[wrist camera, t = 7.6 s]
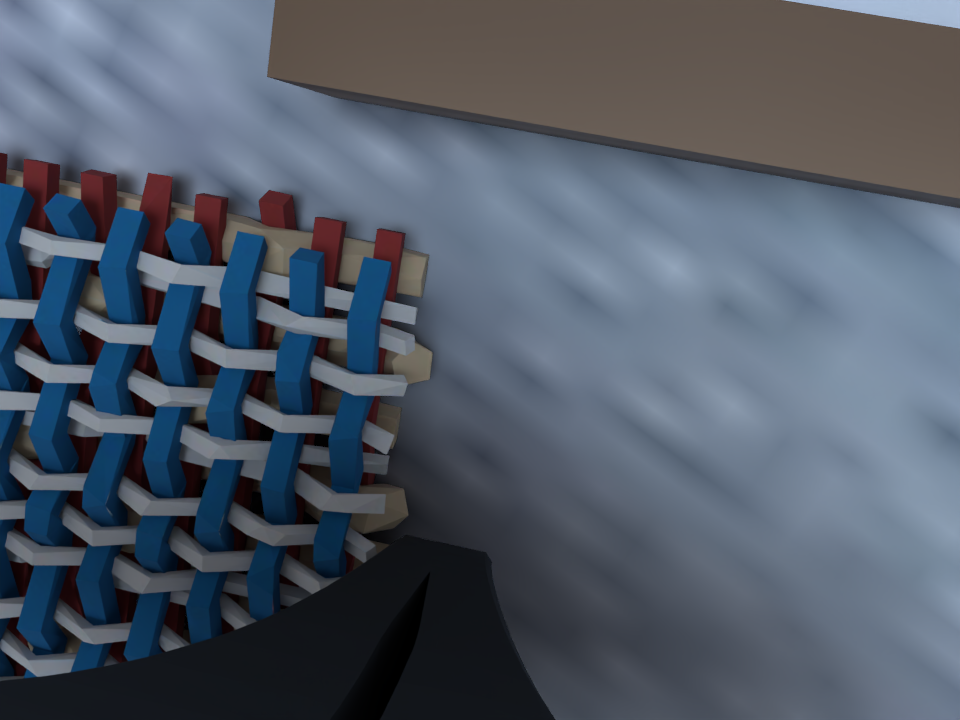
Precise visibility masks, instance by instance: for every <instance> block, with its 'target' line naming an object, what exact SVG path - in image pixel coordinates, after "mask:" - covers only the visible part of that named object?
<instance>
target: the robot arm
mask: <svg viewBox="0 0 960 720" xmlns="http://www.w3.org/2000/svg"><path fill="white" fill-rule="evenodd" d="M491 563H492V562H491V560H490V559H489V557H488V555H487V554H486V552H481V551H477V550H472V549H467V548H463V547H458V546H454V545H449V544H445V543H440V542H435V541H431V540H426V539H422V538H417V537H413V536H408V535H405V536H403V537H402V538H400V539H399V540H397V541H395V542H394V543H392V544H391V545H389V546H388V547H386V548H385V549H383V550H382V551H381V552H379V553H378V554H376V555H375V556H373V557H372V558H370V559H369V560H367V561H366V562H364V563H363V564H361V565H360V566H358V567H357V568H355V569H354V570H352V571H351V572H349V573H347V574H346V575H344V576H343V577H341V578H339V579H338V580H336V581H335V582H333V583H331V584H330V585H328V586H327V587H325V588H323V589H321V590H319V591H317V592H315V593H314V594H312V595H310V596H308V597H306V598H304V599H303V600H301V601H299V602H297V603H295V604H293V605H291V606H290V607H288V608H285V609H283V610H281V611H279V612H277V613H275V614H273V615H270V616H268V617H266V618H264V619H261V620H259V621H256V622H254V623H251V624H249V625H246V626H244V627H241V628H239V629H236V630H234V631H231V632H228V633H226V634H223V635H220V636H217V637H214V638H211V639H207V640H204V641H200V642H197V643H194V644H190V645H187V646H184V647H180V648H177V649H173V650H170V651H167V652H163V653H160V654H156V655H153V656H149V657H145V658H140V659H136V660H131V661H127V662H122V663H118V664H113V665H108V666H102V667H97V668H91V669H86V670H80V671H75V672H69V673H62V674H55V675H49V676H41V677H31V678H22V679H12V680H3V681H0V720H555V718H554V717H553V715H552V714H551V712H550V711H549V709H548V707H547V706H546V704H545V703H544V701H543V700H542V698H541V696H540V695H539V693H538V691H537V689H536V688H535V686H534V684H533V682H532V680H531V678H530V676H529V675H528V673H527V671H526V669H525V667H524V664H523V662H522V660H521V658H520V656H519V654H518V652H517V650H516V648H515V645H514V643H513V641H512V638H511V636H510V633H509V630H508V628H507V625H506V622H505V620H504V617H503V614H502V611H501V608H500V605H499V602H498V599H497V595H496V591H495V587H494V583H493V578H492V570H491Z"/></svg>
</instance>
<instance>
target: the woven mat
mask: <svg viewBox="0 0 960 720" xmlns="http://www.w3.org/2000/svg"><path fill="white" fill-rule="evenodd" d="M172 179H173V177H170V176H164V175H158V174H152V173H148V176H147V180H146V184H145V188H144V192H143V196H141V195H136V194H131V193H126V192H121V191H117V176H116V174H111V173H106V172H101V171H96V170H92V169H91V170H88V171H85V172H81V183H76V182H71V181H66V180H61V179H60V165H58V164H53V163H48V162H43V161H38V160H29V159H24V170H23V172H22V171H17V170H12V169H7V154H4V153H0V681H3V680H12V679H22V678H31V677H41V676H49V675H55V674H62V673H69V672H75V671H80V670H86V669H91V668H97V667H102V666H108V665H113V664H118V663H122V662H127V661H131V660H136V659H140V658H145V657H149V656H153V655H156V654H160V653H163V652H167V651H170V650H173V649H177V648H180V647H184V646H187V645H190V644H194V643H197V642H200V641H204V640H207V639H211V638H214V637H217V636H220V635H223V634H226V633H228V632H231V631H234V630H236V629H239V628H241V627H244V626H246V625H249V624H251V623H254V622H256V621H259V620H261V619H264V618H266V617H268V616H270V615H273V614H275V613H277V612H279V611H281V610H283V609H285V608H288V607H290V606H291V605H293V604H295V603H297V602H299V601H301V600H303V599H304V598H306V597H308V596H310V595H312V594H314V593H315V592H317V591H319V590H321V589H323V588H325V587H327V586H328V585H330V584H331V583H333V582H335V581H336V580H338V579H339V578H341V577H343V576H344V575H346V574H347V573H349V572H351V571H352V570H354V569H355V568H357V567H358V566H360V565H361V564H363V563H364V562H366V561H367V560H369V559H370V558H372V557H373V556H375V555H376V554H378V553H379V552H381V551H382V550H383V549H385V548H386V547H388V546H389V545H388V544H384V543H380V542H375V541H371V540H367V539H366V538H365V537H363V536H362V535H361V533H362V534H364V533H370V532H376V531H382V530H388V529H393V528H395V527H396V526H397V525H398V524H399V523H400V522H402V521H403V520H404V519H405V518H406V517H407V516H408V509H407V504H406V498H405V492H404V489H403V488H400V487H396V486H393V485H389V484H374V479H375V475H376V474H382V475H387V469H388V462H389V456H387V453H388V451H389V448H391V449H393V447H394V445H395V442H396V440H397V434H398V429H399V423H400V416H401V409H402V408H400V407H396V406H392V405H388V404H384V403H380V396H404V394H405V391H406V388H407V385H408V384H412V383H416V382H421V381H425V380H430V372H431V363H432V354H433V353H432V352H431V351H430V350H428V349H427V348H425V347H424V346H422V345H421V344H420V343H418V342H417V341H415V337H414V335H412V334H409V333H406V332H404V331H401V330H400V329H398V328H394V327H391V324H392V320H394V321H399V322H403V323H408V324H413V325H415V321H416V317H417V312H418V308H416V307H412V306H408V305H404V304H399V303H395V298H396V293H400V294H406V295H411V296H416V297H422V296H423V290H424V284H425V278H426V272H427V266H428V259H429V255H428V254H424V253H420V252H417V251H413V250H409V249H405V248H403V247H404V240H405V234H406V233H401V232H396V231H391V230H386V229H377V234H376V241H375V243H373V242H368V241H362V240H357V239H351V238H346V237H345V230H346V223H347V222H344V221H339V220H335V219H330V218H325V217H315V223H314V230H313V233H311V232H304V231H297V230H296V221H295V213H294V205H293V197H292V195H289V194H284V193H280V192H275V191H271V190H269V191H268V192H267V193H266V194H265V195H264V196H263V197H262V198H261V199H260V200H259V206H260V213H261V220H262V223H260V222H257V221H255V220H253V219H250V218H248V217H245V216H240V215H235V214H230V213H227V206H228V198H225V197H220V196H215V195H210V194H205V193H202V194H196V198H195V206H190V205H185V204H180V203H175V202H171V201H172ZM57 234H58V236H57ZM168 250H170V251H171V252H172V254H173V257H174V259H175V262H173V261H170V260H167V259H168ZM223 262H227V263H228V265H227V267H225V266H223ZM338 283H342V284H347V285H353V286H356V288H355V291H354V293H353V292H348V291H344V290H340V289H337V284H338ZM284 298H288V299H289V306H288V305H283V304H282V303H283V299H284ZM334 308H336V309H341V310H346V311H349V314H348V317H347V318H346V317H341V316H336V315H333V311H334ZM75 325H76V326H78V327H80V328H82V332H81V334H80V336H79V334H78V331H77V329H76V327H75ZM219 339H220V340H224V341H225V345H224V344H222V343H221V342H220V341H219ZM338 365H340V366H345V367H347V369H345V368H342V367H340V366H338ZM268 371H276V372H275V378H274V377H269V376H267V374H268ZM323 382H324V383H326V384H329V385H331V386H333V387H336V388H338V389H341V390H343V393H338V392H334V391H330V390H326V389H322V386H323ZM154 406H157V409H156V413H155V416H154V417H153V414H154ZM261 423H262V424H264V425H266V426H268V427H270V428H272V429H274V434H273V438H272V441H259V436H260V428H261ZM316 433H318V434H323V435H328V436H329V440H328V443H329V448H327V447H319V446H314V440H315V434H316ZM374 448H376V449H377V450H379V451H381V452H383V453H384V454H386V455H379V454H375V451H374ZM201 480H205V481H207V482H206V485H205V488H204V491H203V495H202V497H199V490H200V481H201ZM252 491H254V492H258V493H261V495H262V502H263V509H264V516H263V515H259V514H254V513H252V512H250V507H251V499H252ZM304 511H306V512H307V513H308V514H310V515H311V516H312V517H313V518H315V519H316V520H317V521H318V522H319V524H305V525H304V524H303V517H304ZM191 565H193V566H194V567H196V568H194V567H191ZM242 571H248V574H247V575H243V574H242ZM299 586H300V587H302V588H299ZM137 599H138V603H137V607H136V600H137ZM185 612H187V619H188V626H189V630H187V629H184V621H185Z"/></svg>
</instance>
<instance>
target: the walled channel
mask: <svg viewBox="0 0 960 720" xmlns="http://www.w3.org/2000/svg"><path fill="white" fill-rule="evenodd" d="M267 77H270V78H273V79H277V80H280V81H283V82H286V83H290V84H293V85H296V86H299V87H303V88H306V89H309V90H313V91H316V92H319V93H322V94H326V95H329V96H332V97H336V98H341V99H346V100H352V101H357V102H363V103H369V104H374V105H380V106H386V107H391V108H397V109H403V110H408V111H414V112H420V113H425V114H431V115H437V116H442V117H448V118H454V119H459V120H465V121H471V122H476V123H482V124H488V125H493V126H499V127H504V128H510V129H516V130H521V131H527V132H533V133H538V134H544V135H550V136H555V137H561V138H567V139H572V140H578V141H584V142H589V143H595V144H601V145H606V146H612V147H618V148H623V149H629V150H635V151H640V152H646V153H651V154H657V155H663V156H668V157H674V158H680V159H685V160H691V161H697V162H702V163H708V164H714V165H719V166H725V167H731V168H736V169H742V170H748V171H753V172H759V173H765V174H770V175H776V176H782V177H787V178H793V179H798V180H804V181H810V182H815V183H821V184H827V185H832V186H838V187H844V188H849V189H855V190H861V191H866V192H872V193H878V194H883V195H889V196H895V197H900V198H906V199H912V200H917V201H923V202H929V203H934V204H940V205H945V206H951V207H957V208H960V29H958V28H952V27H945V26H939V25H933V24H927V23H921V22H914V21H908V20H902V19H896V18H889V17H883V16H877V15H871V14H865V13H858V12H852V11H846V10H840V9H833V8H827V7H821V6H815V5H808V4H802V3H796V2H790V1H784V0H275V8H274V17H273V27H272V36H271V46H270V55H269V65H268V74H267Z"/></svg>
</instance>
